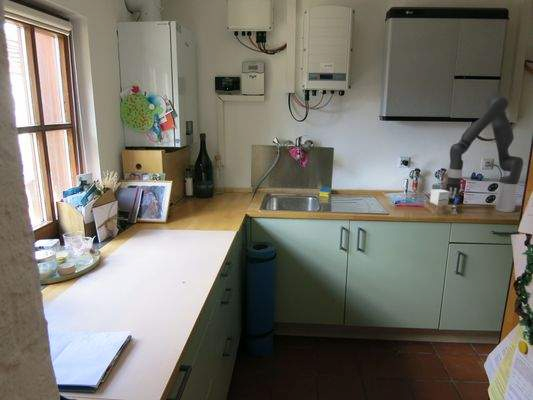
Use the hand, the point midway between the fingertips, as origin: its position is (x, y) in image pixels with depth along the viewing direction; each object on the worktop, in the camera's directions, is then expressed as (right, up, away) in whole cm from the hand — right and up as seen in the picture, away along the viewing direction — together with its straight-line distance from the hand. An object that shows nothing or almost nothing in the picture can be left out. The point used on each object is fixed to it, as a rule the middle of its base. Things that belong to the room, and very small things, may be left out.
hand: (450, 203), depth 236 cm
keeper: (-8, -4, -4) cm, 10 cm away
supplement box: (-10, -4, -4) cm, 12 cm away
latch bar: (-3, -1, -4) cm, 5 cm away
